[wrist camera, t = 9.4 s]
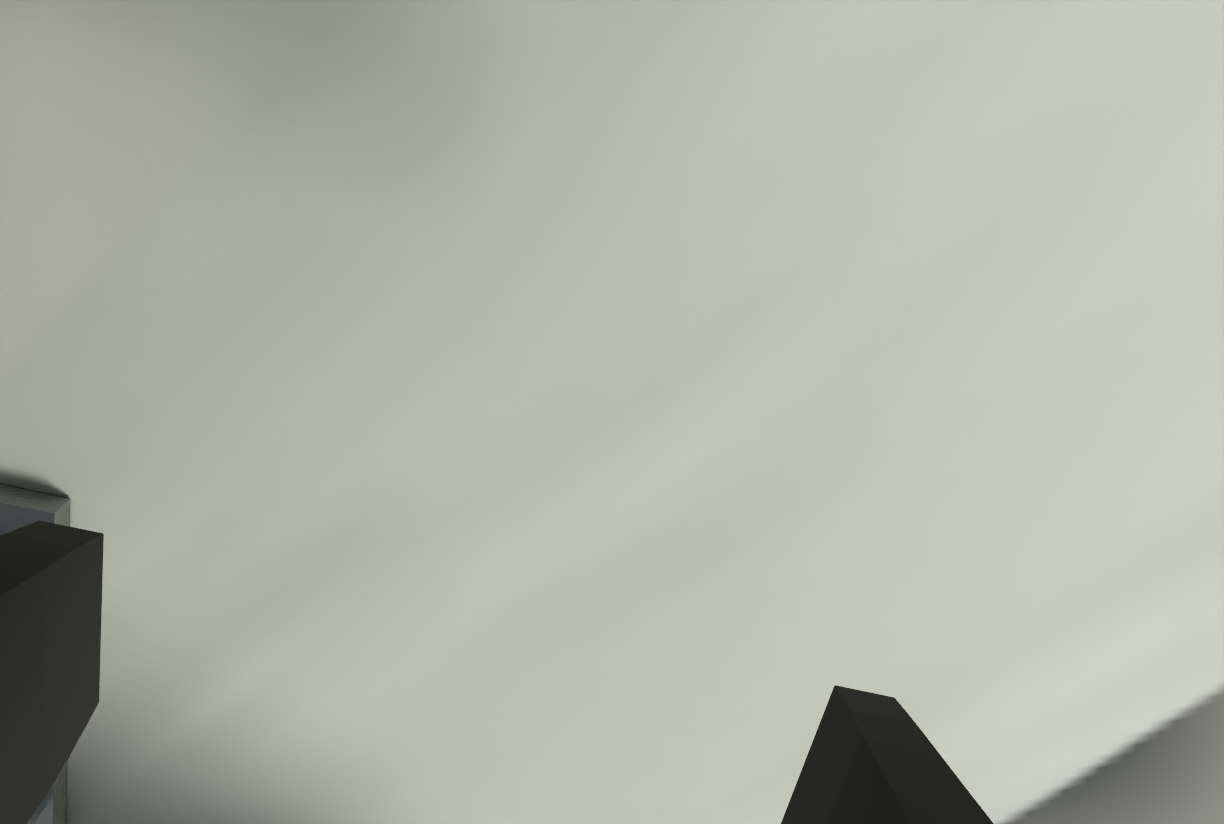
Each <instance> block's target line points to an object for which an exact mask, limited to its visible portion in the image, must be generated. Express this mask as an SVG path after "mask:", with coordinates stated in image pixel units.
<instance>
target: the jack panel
mask: <svg viewBox="0 0 1224 824" xmlns="http://www.w3.org/2000/svg"><path fill="white" fill-rule="evenodd" d="M39 520H40V521H44V522H49V523H54V524H59V525H64V526H69V527H70V499H69V498H64V497H59V496H54V495H50V494H45V493H40V492H35V491H30V490H26V489H21V488H16V487H11V486H7V485H2V484H0V536H2V535H4V534H6V533H9V532H11V531H13V530H16V529H18V528H21V527H24V526H26V525H29V524H31V523H34V522H37V521H39ZM66 789H67V761H66V763H65V764H64V766H63V768H62V770H61V771H60V773H59V775H58V777H57V778H56V780H55V782H54V783H53V785H52V787H51V789H50V790H49V792H48V794H47V795H46V797H45V798H44V800H43V801H42V803H41V804H40V805H39V807H38V808H37V810H36V811H35V812H34V814H33V815H32V817H31V818H30V819H29V821H28V822H27V824H66Z"/></svg>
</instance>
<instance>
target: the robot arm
mask: <svg viewBox="0 0 1224 824" xmlns="http://www.w3.org/2000/svg"><path fill="white" fill-rule="evenodd" d="M102 569H103V534H102V533H97V532H93V531H88V530H83V529H78V528H73V527H69V526H64V525H59V524H54V523H49V522H44V521H40V520H39V521H37V522H34V523H31V524H29V525H26V526H24V527H21V528H18V529H16V530H13V531H11V532H9V533H6V534H4V535H2V536H0V824H27V822H28V821H29V819H30V818H31V817H32V815H33V814H34V812H35V811H36V810H37V808H38V807H39V805H40V804H41V803H42V801H43V800H44V798H45V797H46V795H47V794H48V792H49V790H50V789H51V787H52V785H53V783H54V782H55V780H56V778H57V777H58V775H59V773H60V771H61V770H62V768H63V766H64V764H65V763H66V761H67V759H68V758H69V756H70V754H71V752H72V751H73V749H74V747H75V745H76V743H77V741H78V740H79V738H80V736H81V734H82V732H83V730H84V729H85V727H86V725H87V723H88V721H89V719H90V717H91V716H92V714H93V712H94V710H95V708H96V706H97V705H98V703H99V678H100V641H101V605H102ZM781 824H993V822H992V821H991V820H990V819H989V817H988V816H987V815H986V814H985V812H984V811H983V810H982V808H981V807H980V806H979V805H978V803H977V802H976V801H975V799H974V798H973V797H972V796H971V794H970V793H969V792H968V790H967V789H966V788H965V787H964V785H963V784H962V783H961V781H960V780H959V779H958V778H957V776H956V775H955V774H954V772H953V771H952V770H951V768H950V767H949V766H948V765H947V763H946V762H945V761H944V759H943V758H942V757H941V756H940V754H939V753H938V752H937V750H936V749H935V748H934V746H933V745H932V744H931V743H930V741H929V740H928V739H927V737H926V736H925V735H924V734H923V732H922V731H921V730H920V728H919V727H918V726H917V725H916V723H915V722H914V721H913V720H912V718H911V717H910V716H909V715H908V713H907V712H906V711H905V710H904V709H903V707H902V706H901V705H900V704H899V703H898V702H897V700H896V699H895V698H893V697H888V696H883V695H879V694H874V693H869V692H864V691H859V690H855V689H850V688H845V687H840V686H834V689H833V691H832V694H831V696H830V699H829V701H828V704H827V707H826V709H825V712H824V714H823V717H822V719H821V722H820V725H819V727H818V730H817V732H816V735H815V738H814V740H813V743H812V745H811V748H810V750H809V753H808V756H807V758H806V761H805V763H804V766H803V768H802V771H801V774H800V776H799V779H798V781H797V784H796V786H795V789H794V792H793V794H792V797H791V799H790V802H789V805H788V807H787V810H786V812H785V815H784V817H783V820H782V823H781Z"/></svg>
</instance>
